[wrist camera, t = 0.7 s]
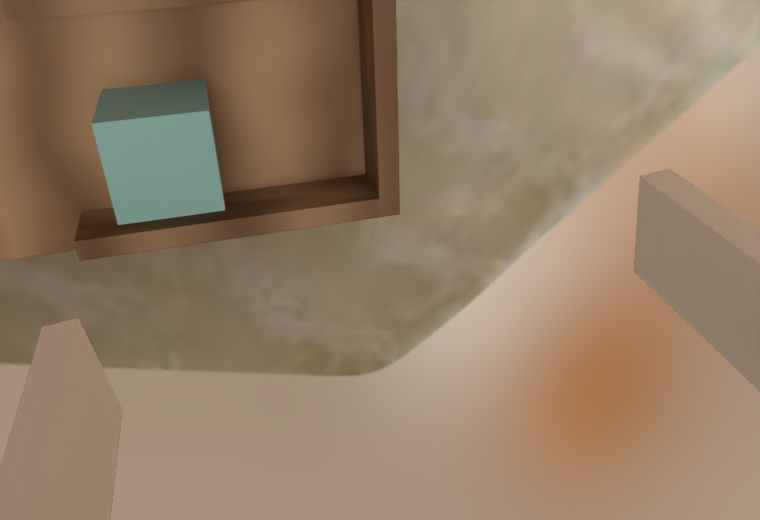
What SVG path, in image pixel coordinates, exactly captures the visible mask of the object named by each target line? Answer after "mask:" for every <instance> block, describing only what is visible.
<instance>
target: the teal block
mask: <svg viewBox="0 0 760 520" xmlns="http://www.w3.org/2000/svg"><path fill="white" fill-rule="evenodd" d="M91 124H92V128H93V132H94V135H95V139H96V143H97V147H98V151H99V155H100V159H101V162H102V166H103V170H104V174H105V178H106V182H107V185H108V189H109V193H110V197H111V201H112V205H113V209H114V212H115V216H116V220H117V224H118V225H123V224H130V223H137V222H144V221H152V220H159V219H166V218H173V217H181V216H188V215H195V214H202V213H210V212H217V211H224V210H225V203H224V196H223V188H222V180H221V173H220V166H219V160H218V154H217V148H216V142H215V136H214V130H213V124H212V118H211V112H210V106H209V100H208V93H207V87H206V81H205V79H200V80H191V81H181V82H171V83H161V84H151V85H141V86H131V87H121V88H112V89H102V91H101V94H100V97H99V100H98V104H97V107H96V110H95V113H94V117H93V120H92V123H91Z"/></svg>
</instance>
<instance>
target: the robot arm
mask: <svg viewBox="0 0 760 520" xmlns="http://www.w3.org/2000/svg"><path fill="white" fill-rule="evenodd" d="M634 272H635V273H636V274H637V275H638V276H639V277H640V278H641V279H642V280H643V281H644V282H645V283H646V284H647V285H648V286H649V287H651V288H652V289H653V290H654V291H655V292H656V293H657V294H658V295H659V296H660V297H661V298H662V299H663V300H664V301H665V302H666V303H667V304H668V305H670V307H672V308H673V309H674V310H675V311H676V312H677V313H678V314H679V315H680V316H681V317H682V318H683V319H684V320H685V321H686V322H687V323H688V324H689V325H690V326H691V327H693V328H694V329H695V330H696V331H697V332H698V333H699V334H700V335H701V336H702V337H703V338H704V339H705V340H706V341H707V342H708V343H709V344H710V345H711V346H713V347H714V348H715V349H716V350H717V351H718V352H719V353H720V354H721V355H722V356H723V357H724V358H725V359H726V360H727V361H728V362H729V363H730V364H732V365H733V366H734V367H735V368H736V369H737V370H738V371H739V372H740V373H741V374H742V375H743V376H744V377H745V378H746V379H747V380H748V381H749V382H750V383H751V384H753V385H754V386H755V387H756V388H757V389H758V390H759V391H760V229H759V228H757V227H755V226H754V225H753V224H751V223H750V222H748V221H747V220H745V219H744V218H742V217H741V216H739V215H738V214H736V213H735V212H733V211H732V210H730V209H729V208H727V207H726V206H724V205H723V204H721V203H720V202H718V201H717V200H715V199H714V198H712V197H711V196H709V195H708V194H706V193H705V192H703V191H702V190H700V189H699V188H697V187H696V186H694V185H693V184H691V183H690V182H688V181H687V180H685V179H684V178H682V177H681V176H679V175H678V174H676V173H675V172H673V171H672V170H670V169H666V170H662V171H658V172H654V173H651V174H646V175H642V176H640V182H639V197H638V214H637V229H636V245H635V260H634ZM122 411H123V410H122V408H121V406H120V403H119V401H118V399H117V397H116V395H115V393H114V391H113V389H112V387H111V385H110V383H109V380H108V379H107V376H106V374H105V372H104V370H103V368H102V366H101V364H100V362H99V360H98V358H97V356H96V353H95V351H94V349H93V347H92V345H91V343H90V341H89V339H88V337H87V335H86V333H85V331H84V328H83V326H82V324H81V322H80V320H79V318H76V319H72V320H68V321H64V322H60V323H56V324H52V325H48V326H44V327H42V328H41V332H40V335H39V339H38V342H37V345H36V349H35V352H34V355H33V359H32V362H31V365H30V369H29V372H28V375H27V379H26V382H25V386H24V389H23V392H22V396H21V399H20V402H19V406H18V409H17V412H16V416H15V419H14V423H13V426H12V429H11V433H10V436H9V439H8V443H7V446H6V450H5V453H4V456H3V459H2V463H1V466H0V520H111V511H112V502H113V493H114V483H115V474H116V466H117V457H118V447H119V438H120V429H121V420H122Z"/></svg>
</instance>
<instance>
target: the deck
mask: <svg viewBox="0 0 760 520" xmlns="http://www.w3.org/2000/svg"><path fill="white" fill-rule="evenodd" d="M200 79H205V81H206V87H207V93H208V100H209V106H210V112H211V118H212V124H213V130H214V136H215V142H216V148H217V154H218V160H219V166H220V173H221V180H222V188H223V196H224V203H225V210H224V211H217V212H210V213H202V214H195V215H188V216H181V217H173V218H166V219H159V220H152V221H144V222H137V223H130V224H123V225H118V224H117V220H116V216H115V212H114V209H113V205H112V201H111V197H110V193H109V189H108V185H107V182H106V178H105V174H104V170H103V166H102V162H101V159H100V155H99V151H98V147H97V143H96V139H95V135H94V132H93V128H92V124H91V123H92V120H93V117H94V113H95V110H96V107H97V104H98V100H99V97H100V94H101V91H102V89H112V88H121V87H131V86H141V85H151V84H161V83H171V82H181V81H191V80H200ZM398 214H400V206H399V153H398V99H397V46H396V0H0V261H3V260H10V259H17V258H24V257H31V256H38V255H45V254H52V253H59V252H66V251H73V250H77V254H78V257H79V260H80V261H82V260H89V259H96V258H103V257H110V256H117V255H123V254H130V253H137V252H144V251H151V250H158V249H165V248H171V247H178V246H185V245H192V244H199V243H206V242H213V241H219V240H226V239H233V238H240V237H247V236H254V235H261V234H267V233H274V232H281V231H288V230H295V229H302V228H309V227H316V226H322V225H329V224H336V223H343V222H350V221H357V220H364V219H370V218H377V217H384V216H391V215H398Z"/></svg>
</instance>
